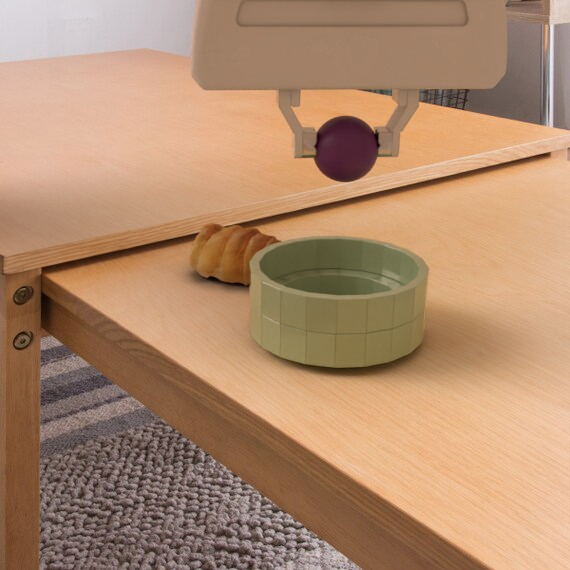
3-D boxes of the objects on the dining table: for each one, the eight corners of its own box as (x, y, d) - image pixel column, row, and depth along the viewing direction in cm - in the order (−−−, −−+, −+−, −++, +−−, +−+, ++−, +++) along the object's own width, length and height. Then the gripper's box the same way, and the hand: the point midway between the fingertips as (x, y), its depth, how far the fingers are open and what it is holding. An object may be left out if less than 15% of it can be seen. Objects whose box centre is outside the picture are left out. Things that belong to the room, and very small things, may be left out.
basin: (255, 378, 61) (255, 301, 58) (245, 304, 72) (245, 237, 70) (441, 373, 62) (448, 296, 60) (402, 300, 73) (407, 234, 71)
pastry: (316, 268, 79) (317, 226, 78) (286, 297, 73) (287, 252, 72) (217, 253, 82) (216, 212, 81) (181, 279, 77) (179, 236, 75)
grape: (315, 190, 60) (317, 123, 59) (308, 173, 64) (309, 109, 63) (382, 189, 61) (385, 122, 59) (370, 172, 65) (373, 109, 63)
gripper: (501, -66, 61) (482, 143, 66) (187, -68, 59) (193, 146, 64) (534, -63, 55) (511, 165, 60) (186, -66, 53) (193, 170, 58)
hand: (344, 156), depth 62 cm, fingers closed on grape, 4 cm apart
